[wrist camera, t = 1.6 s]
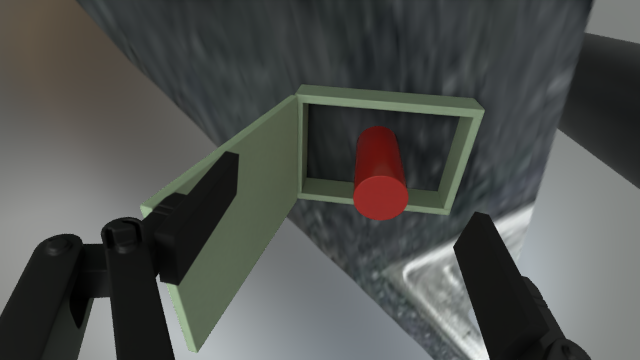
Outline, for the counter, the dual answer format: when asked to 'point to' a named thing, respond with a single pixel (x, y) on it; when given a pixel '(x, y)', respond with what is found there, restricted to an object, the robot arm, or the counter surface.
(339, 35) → the counter surface
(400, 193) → the tin
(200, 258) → the lid
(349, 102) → the green open box
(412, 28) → the counter surface
